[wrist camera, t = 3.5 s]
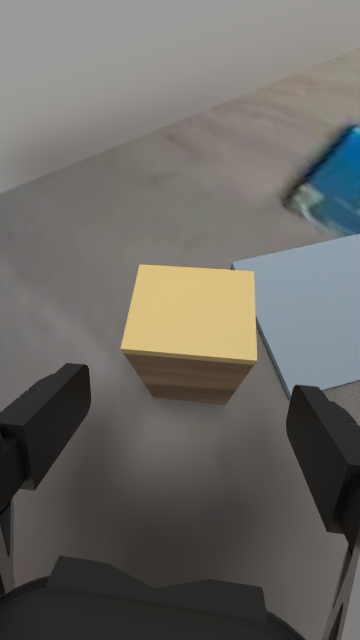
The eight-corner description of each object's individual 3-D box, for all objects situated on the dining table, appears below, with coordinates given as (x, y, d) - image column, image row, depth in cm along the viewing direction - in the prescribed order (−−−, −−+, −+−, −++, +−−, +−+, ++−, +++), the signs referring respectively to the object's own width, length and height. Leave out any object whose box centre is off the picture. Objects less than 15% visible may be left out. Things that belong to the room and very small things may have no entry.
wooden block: (225, 404, 17) (257, 360, 9) (153, 397, 18) (120, 348, 9) (226, 350, 19) (254, 271, 11) (161, 344, 20) (139, 264, 11)
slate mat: (391, 230, 24) (396, 225, 24) (493, 344, 19) (501, 341, 18) (231, 266, 23) (232, 262, 22) (289, 399, 17) (292, 397, 17)
